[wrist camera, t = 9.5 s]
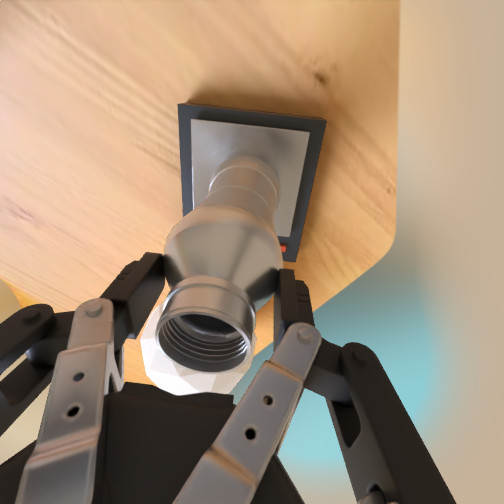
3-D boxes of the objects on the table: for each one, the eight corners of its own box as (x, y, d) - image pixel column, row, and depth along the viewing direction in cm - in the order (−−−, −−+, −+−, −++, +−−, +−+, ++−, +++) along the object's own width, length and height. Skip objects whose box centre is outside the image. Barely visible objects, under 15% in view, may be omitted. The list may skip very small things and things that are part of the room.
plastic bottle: (260, 223, 29) (242, 411, 12) (204, 193, 28) (97, 358, 11) (292, 172, 26) (330, 330, 9) (231, 135, 25) (141, 241, 8)
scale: (185, 102, 27) (175, 104, 24) (322, 118, 27) (328, 121, 24) (189, 239, 35) (183, 251, 33) (294, 252, 35) (295, 264, 32)
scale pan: (192, 118, 25) (190, 118, 24) (309, 130, 25) (310, 132, 24) (195, 223, 31) (193, 226, 30) (289, 234, 30) (289, 237, 30)
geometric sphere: (194, 283, 46) (104, 316, 34) (258, 263, 36) (163, 299, 24) (220, 361, 45) (138, 421, 34) (292, 362, 36) (212, 446, 24)
